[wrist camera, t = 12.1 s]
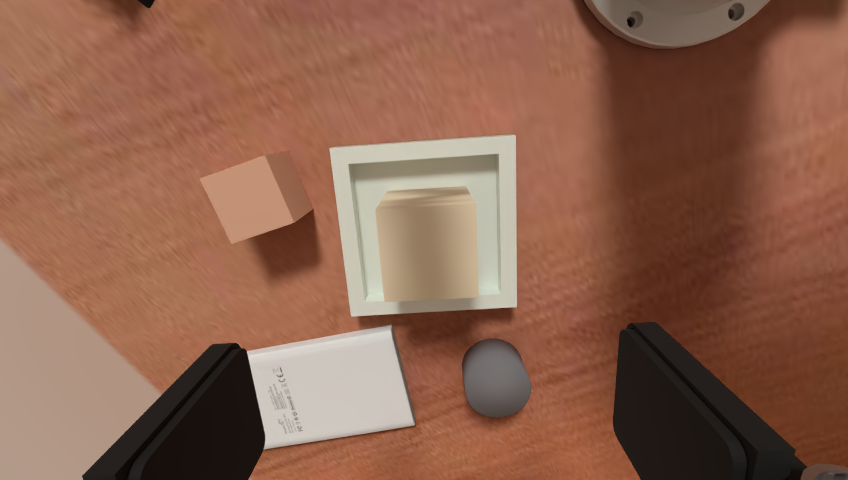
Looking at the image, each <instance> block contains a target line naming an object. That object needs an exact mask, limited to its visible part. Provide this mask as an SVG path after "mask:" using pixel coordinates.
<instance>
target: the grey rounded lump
mask: <svg viewBox="0 0 848 480" xmlns="http://www.w3.org/2000/svg"><path fill="white" fill-rule="evenodd" d="M462 370H463V377H464V385H465V392H466V397H467V400H468V402H469V404H470V405H471V407H472V408H473V409H474V410H475V411H477V412H478V413H480V414H482V415H485V416H488V417H494V418H500V417H506V416H510V415H512V414H514V413H516V412H518V411H519V410H520V409H522V408H523V407H524V406H525V404H526V403H527V401H528V399H529V397H530V394H531V383H530V380H529V377H528V375H527V372H526V369H525V367H524V364H523V362H522V359H521V357H520V354H519V352H518V351H517V349H516V348H515V347H514V346H513V345H511V344H510V343H508V342H506V341H504V340H500V339H486V340H482V341H479V342H477V343H475V344H474V345H473V346H471V347H470V348H469V349H468V350H467V352H466V353H465V355H464V358H463V361H462Z"/></svg>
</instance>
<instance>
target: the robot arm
mask: <svg viewBox="0 0 848 480" xmlns="http://www.w3.org/2000/svg"><path fill="white" fill-rule="evenodd" d="M769 1H770V0H584V2H585V4H586V6H587V7H588V8H589V9H590V11H591V12H592V13H593V14H594V16H595V17H596V18H597V19H598V21H599V22H600V23H601V24H603V25H604V26H605V27H606V28H608V29H609V30H610V31H611V32H613V33H614V34H615V35H617V36H619V37H621V38H623V39H625V40H627V41H629V42H631V43H633V44H637V45H641V46H645V47H649V48H655V49H676V48H682V47H687V46H693V45H697V44H700V43H703V42H706V41H709V40H713V39H715V38H717V37H719V36H722V35H724V34H726V33H728V32H730V31H732V30H734V29H736V28H737V27H739V26H740V25H741V24H743V23H744V22H746V21H747V20H749V19H750V18H751V17H753V16H754V15H756V14H757V13H758V12H759V11H760V10H761V9H762V8H763V7H764V6H765V5H766V4H767V3H768V2H769ZM627 19H629V20H630V21H631V26H630V27H629V26H628V24H627ZM613 426H614V431H615V434H616V436H617V439H618V440H619V442H620V444H621V446H622V447H623V449H624V451H625V452H626V454H627V456H628V458H629V459H630V461H631V463H632V465H633V466H634V468H635V470H636V472H637V473H638V475H639V477H640V479H641V480H848V467H845V466H842V465H834V464H826V463H824V464H815V465H811V466H809V467H807V466H805V465H804V464H803V463H802V462H801V461H800V460H799V459H798V458H797V457H796V456H795V455H794V454H795V449H794V448H793V447H792V446H790V445H789V444H788V443H787V442H786V441H785V440H784V439H783V438H782V437H781V436H780V435H778V434H777V433H776V432H775V431H774V430H773V429H772V428H771V427H770V426H769V425H768V424H766V423H765V422H764V421H763V420H762V419H761V418H760V417H759V416H758V415H757V414H756V413H754V412H753V411H752V410H751V409H750V408H749V407H748V406H747V405H746V404H745V403H743V402H742V401H741V400H740V399H739V398H738V397H737V396H736V395H735V394H734V393H733V392H731V391H730V390H729V389H728V388H727V387H726V386H725V385H724V384H723V383H722V382H721V381H719V380H718V379H717V378H716V377H715V376H714V375H713V374H712V373H711V372H710V371H709V370H707V369H706V368H705V367H704V366H703V365H702V364H701V363H700V362H699V361H698V360H696V359H695V358H694V357H693V356H692V355H691V354H690V353H689V352H688V351H687V350H686V349H684V348H683V347H682V346H681V345H680V344H679V343H678V342H677V341H676V340H675V339H674V338H672V337H671V336H670V335H669V334H668V333H667V332H666V331H665V330H664V329H663V328H662V327H660V326H659V325H658V324H657V323H655V322H648V323H630V324H629V325H628V326H627V328H626V330H622V331H621V332H620V336H619V349H618V362H617V375H616V388H615V401H614V414H613ZM264 446H265V431H264V427H263V422H262V418H261V413H260V409H259V404H258V400H257V395H256V390H255V386H254V381H253V377H252V372H251V368H250V363H249V359H248V354H247V351H246V350H245V349H244V348H240V346H239V345H238V344H237V343H226V344H213V345H211V346H210V347H209V348H208V349H207V350H206V351H205V352H204V353H203V354H202V355H201V356H200V357H199V358H198V359H197V360H196V361H195V362H194V363H193V364H192V365H191V366H190V367H189V368H188V369H187V370H186V371H185V372H184V373H183V374H182V375H181V376H180V377H179V378H178V379H177V380H176V381H175V382H174V383H173V384H172V385H171V386H170V387H169V388H168V389H167V390H166V391H165V392H164V393H163V394H162V395H161V396H160V397H159V398H158V399H157V401H156V402H155V403H154V404H153V405H152V406H151V407H150V408H149V409H148V410H147V411H146V412H145V413H144V414H143V415H142V416H141V417H140V418H139V419H138V420H137V421H136V422H135V423H134V424H133V425H132V426H131V427H130V428H129V429H128V430H127V431H126V432H125V433H124V434H123V435H122V436H121V437H120V438H119V439H118V440H117V441H116V442H115V443H114V444H113V445H112V446H111V447H110V448H109V449H108V450H107V451H106V452H105V453H104V455H102V456H101V457H100V458H99V459H98V460H97V461H96V462H95V463H94V465H92V467H91V468H90V469H89V470H88V471H87V472H86V473H85V474H84V475H83V476H82V477H83V480H248V479H249V477H250V475H251V473H252V471H253V469H254V467H255V466H256V464H257V462H258V460H259V458H260V456H261V454H262V452H263V449H264Z"/></svg>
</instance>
